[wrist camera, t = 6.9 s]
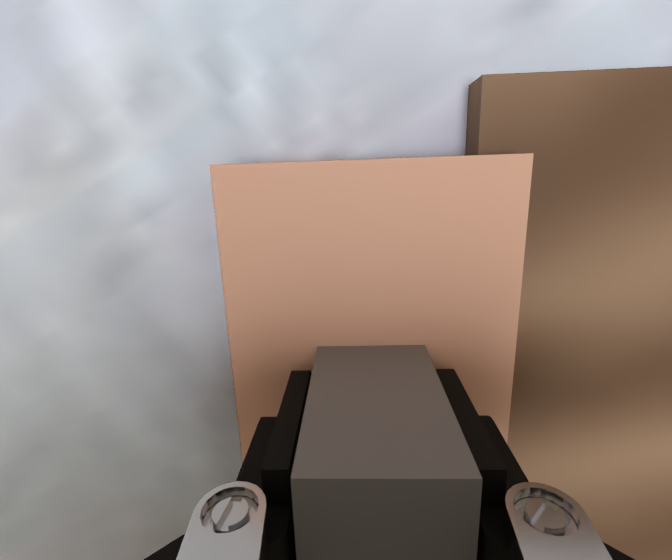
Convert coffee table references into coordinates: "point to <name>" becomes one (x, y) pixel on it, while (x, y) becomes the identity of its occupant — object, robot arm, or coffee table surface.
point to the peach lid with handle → (376, 335)
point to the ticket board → (593, 290)
